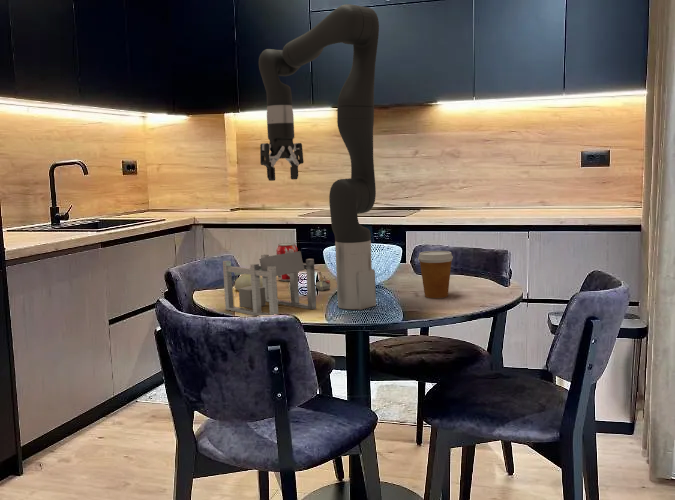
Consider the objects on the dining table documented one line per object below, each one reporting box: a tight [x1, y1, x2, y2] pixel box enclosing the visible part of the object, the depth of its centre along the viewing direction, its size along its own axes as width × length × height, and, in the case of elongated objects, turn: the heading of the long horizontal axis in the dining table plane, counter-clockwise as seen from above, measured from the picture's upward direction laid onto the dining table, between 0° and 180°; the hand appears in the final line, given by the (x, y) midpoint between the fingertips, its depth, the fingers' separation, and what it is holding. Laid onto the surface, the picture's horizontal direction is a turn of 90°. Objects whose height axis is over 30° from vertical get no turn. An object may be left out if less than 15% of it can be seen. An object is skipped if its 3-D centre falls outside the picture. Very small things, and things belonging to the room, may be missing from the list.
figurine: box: [315, 271, 331, 292], centre depth 202 cm, size 5×4×6 cm
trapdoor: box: [234, 250, 305, 279], centre depth 176 cm, size 15×11×5 cm
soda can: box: [275, 242, 300, 282], centre depth 221 cm, size 7×7×12 cm
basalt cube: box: [238, 286, 267, 310], centre depth 183 cm, size 5×5×5 cm
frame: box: [222, 253, 317, 316], centre depth 177 cm, size 20×14×13 cm
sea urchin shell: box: [234, 274, 263, 292], centre depth 207 cm, size 9×8×8 cm
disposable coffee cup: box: [417, 250, 454, 299], centre depth 185 cm, size 10×10×12 cm
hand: (283, 180), depth 194 cm, fingers open, 8 cm apart
